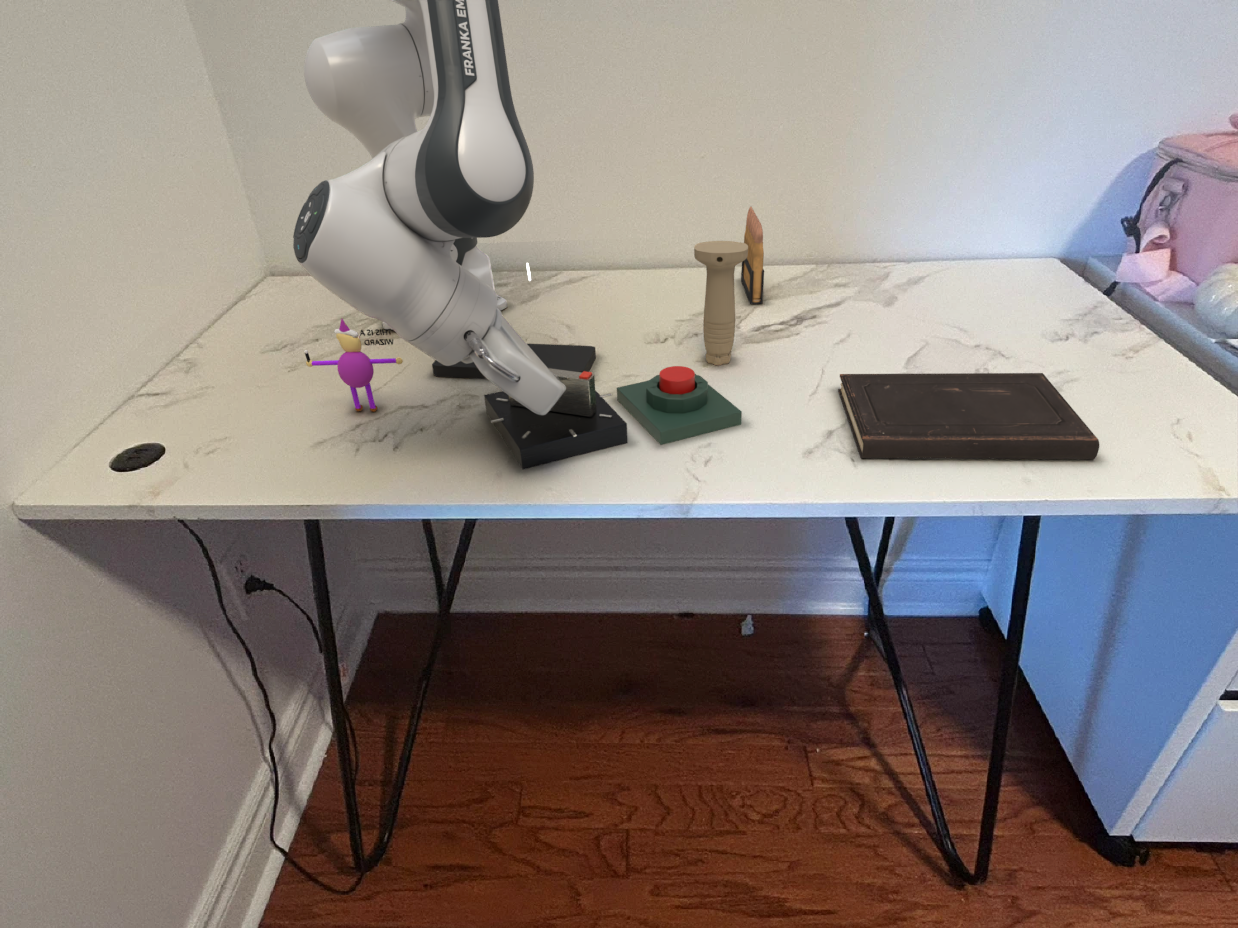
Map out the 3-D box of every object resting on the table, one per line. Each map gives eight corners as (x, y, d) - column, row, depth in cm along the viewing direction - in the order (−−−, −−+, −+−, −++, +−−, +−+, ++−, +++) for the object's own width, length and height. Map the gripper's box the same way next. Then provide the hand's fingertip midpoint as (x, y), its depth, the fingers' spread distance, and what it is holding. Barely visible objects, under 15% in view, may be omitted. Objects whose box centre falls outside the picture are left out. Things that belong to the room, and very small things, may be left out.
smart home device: (452, 339, 112) (596, 344, 109) (454, 350, 113) (596, 356, 110) (429, 364, 105) (582, 371, 102) (431, 377, 106) (583, 384, 103)
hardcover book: (838, 391, 98) (839, 373, 97) (1038, 390, 96) (1043, 372, 95) (861, 461, 85) (863, 441, 84) (1095, 462, 83) (1101, 442, 82)
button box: (617, 400, 99) (615, 373, 97) (691, 383, 102) (691, 356, 100) (660, 445, 89) (660, 417, 87) (741, 424, 92) (742, 396, 90)
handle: (742, 370, 104) (747, 253, 96) (691, 368, 105) (692, 252, 97) (744, 354, 108) (748, 241, 100) (695, 352, 109) (696, 240, 102)
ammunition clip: (762, 304, 123) (767, 223, 117) (750, 304, 124) (754, 224, 117) (752, 280, 133) (756, 204, 126) (740, 280, 133) (744, 205, 126)
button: (653, 384, 95) (653, 370, 94) (684, 377, 96) (684, 363, 95) (669, 398, 92) (668, 383, 91) (700, 391, 93) (701, 376, 92)
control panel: (477, 415, 97) (474, 395, 95) (589, 390, 101) (588, 370, 100) (512, 473, 85) (510, 451, 84) (637, 441, 90) (636, 420, 89)
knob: (509, 405, 93) (504, 367, 90) (515, 399, 94) (511, 361, 92) (591, 417, 90) (588, 378, 87) (596, 410, 91) (594, 371, 89)
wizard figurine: (414, 405, 100) (396, 311, 93) (408, 418, 97) (389, 321, 90) (323, 407, 100) (298, 314, 94) (314, 420, 97) (288, 324, 91)
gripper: (504, 328, 71) (614, 406, 79) (450, 262, 87) (545, 333, 95) (460, 385, 72) (573, 456, 80) (415, 310, 88) (512, 375, 96)
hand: (558, 388), depth 88 cm, fingers closed
